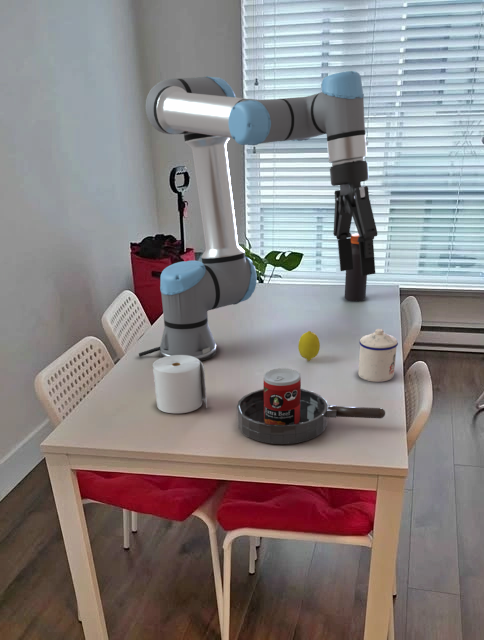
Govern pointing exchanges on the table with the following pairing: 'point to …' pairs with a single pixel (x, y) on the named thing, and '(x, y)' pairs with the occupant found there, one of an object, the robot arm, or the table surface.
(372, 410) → the pan handle
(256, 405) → the frying pan
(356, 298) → the bottle
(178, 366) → the toilet tissue
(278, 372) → the canned food
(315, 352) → the lemon
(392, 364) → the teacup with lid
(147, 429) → the table surface
